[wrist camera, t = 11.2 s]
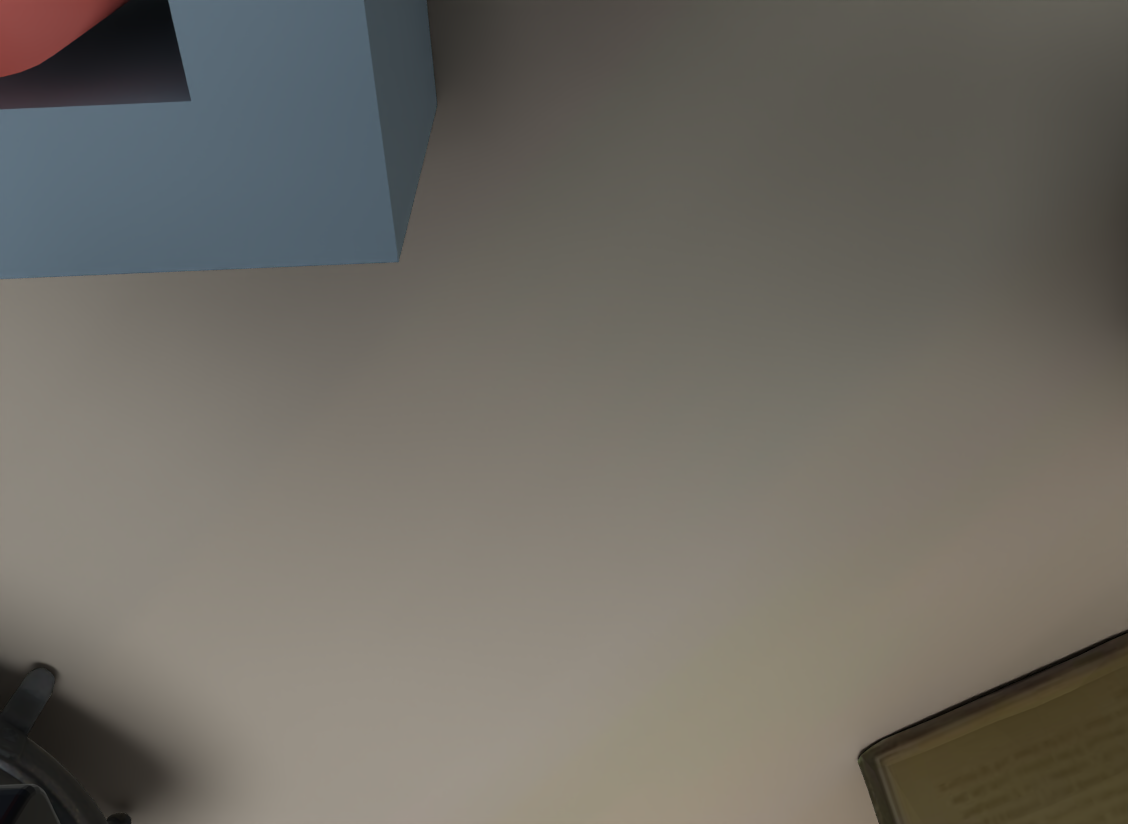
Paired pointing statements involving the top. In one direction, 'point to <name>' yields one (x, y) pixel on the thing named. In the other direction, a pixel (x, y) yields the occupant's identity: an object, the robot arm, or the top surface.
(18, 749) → the alarm clock
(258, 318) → the top surface
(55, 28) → the button
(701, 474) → the top surface
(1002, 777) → the food packaging
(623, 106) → the top surface
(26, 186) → the blue button housing
